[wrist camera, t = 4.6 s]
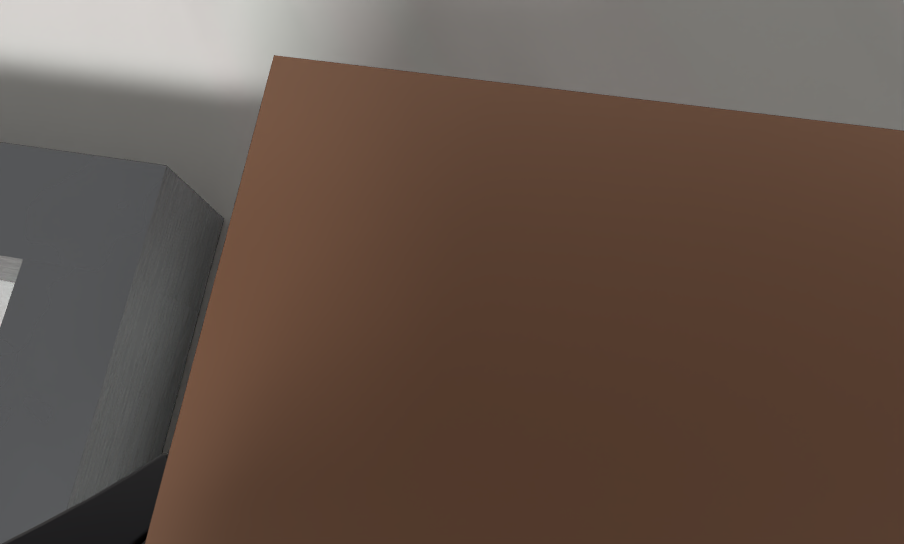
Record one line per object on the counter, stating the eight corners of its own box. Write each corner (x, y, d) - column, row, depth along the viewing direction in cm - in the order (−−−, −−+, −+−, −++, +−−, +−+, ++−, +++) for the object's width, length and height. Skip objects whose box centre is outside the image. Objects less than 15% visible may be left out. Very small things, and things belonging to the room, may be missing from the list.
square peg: (626, 623, 14) (1160, 1281, 2) (418, 581, 15) (33, 966, 3) (649, 411, 16) (1109, 155, 4) (454, 379, 16) (274, 55, 4)
